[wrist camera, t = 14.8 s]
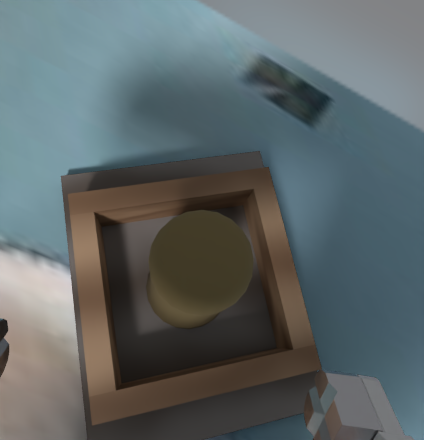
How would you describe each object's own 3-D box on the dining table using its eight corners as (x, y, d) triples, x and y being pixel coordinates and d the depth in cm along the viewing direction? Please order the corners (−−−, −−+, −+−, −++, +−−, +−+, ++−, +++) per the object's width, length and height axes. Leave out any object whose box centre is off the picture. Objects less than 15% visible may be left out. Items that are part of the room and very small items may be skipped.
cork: (237, 259, 29) (282, 215, 18) (216, 340, 27) (252, 341, 16) (161, 235, 28) (162, 176, 18) (134, 314, 26) (117, 299, 16)
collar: (320, 404, 27) (350, 416, 23) (93, 464, 24) (79, 491, 20) (256, 156, 33) (271, 129, 28) (64, 181, 30) (48, 154, 25)
